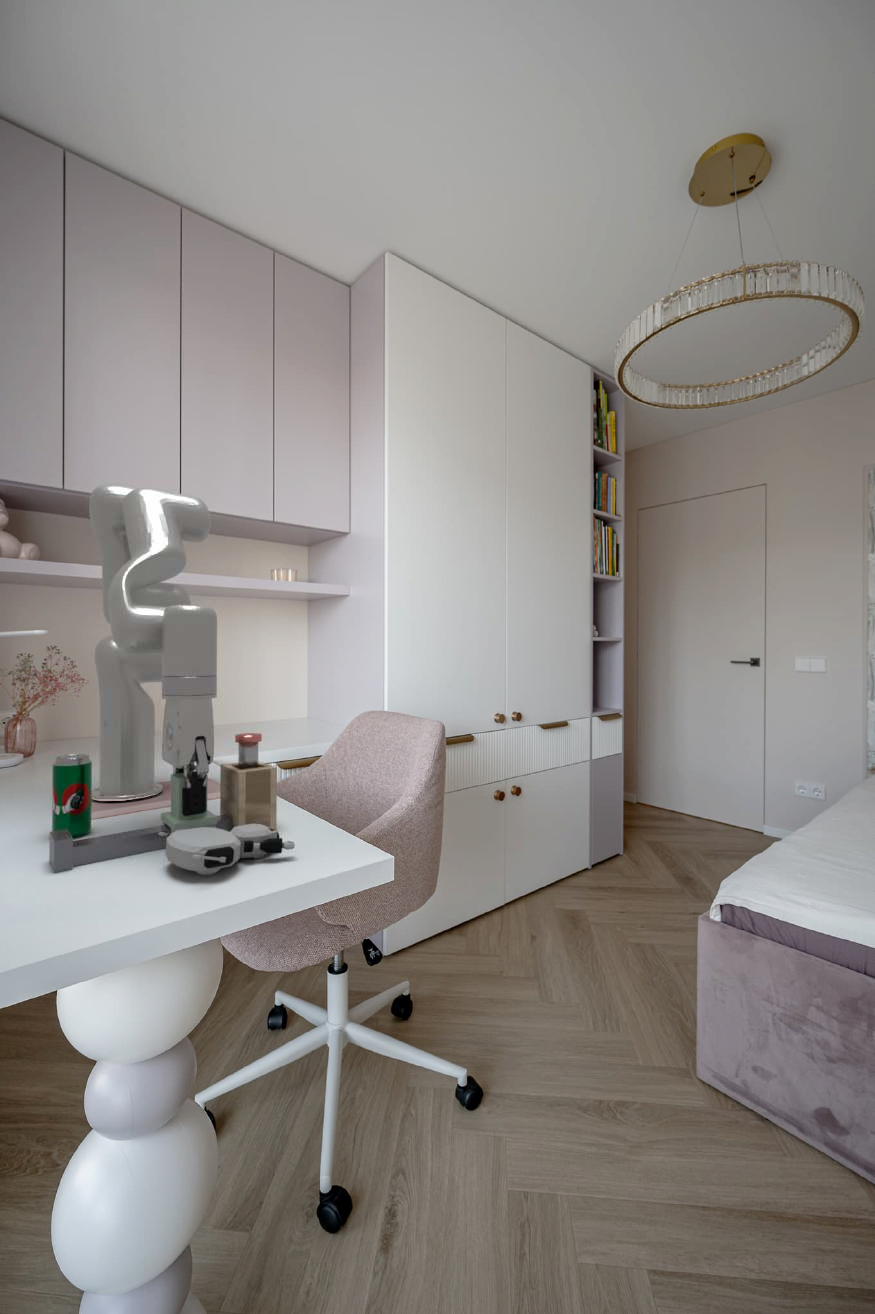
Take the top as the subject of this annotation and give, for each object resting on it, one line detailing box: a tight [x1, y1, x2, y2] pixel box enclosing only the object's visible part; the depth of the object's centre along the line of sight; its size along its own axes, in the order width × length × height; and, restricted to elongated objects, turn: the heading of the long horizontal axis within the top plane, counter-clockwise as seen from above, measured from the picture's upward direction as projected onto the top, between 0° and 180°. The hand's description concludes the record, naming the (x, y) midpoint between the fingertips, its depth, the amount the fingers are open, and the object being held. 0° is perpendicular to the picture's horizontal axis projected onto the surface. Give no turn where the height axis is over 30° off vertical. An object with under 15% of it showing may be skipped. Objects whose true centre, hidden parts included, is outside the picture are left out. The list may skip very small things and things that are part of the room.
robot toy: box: [158, 824, 296, 876], centre depth 76 cm, size 12×4×15 cm
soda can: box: [51, 753, 93, 839], centre depth 86 cm, size 5×5×12 cm
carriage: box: [160, 772, 219, 834], centre depth 84 cm, size 7×6×10 cm
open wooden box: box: [219, 760, 278, 830], centre depth 90 cm, size 8×6×10 cm
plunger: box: [234, 732, 263, 770], centre depth 90 cm, size 4×4×6 cm
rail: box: [48, 814, 233, 874], centre depth 81 cm, size 5×24×4 cm, turn 130°
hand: (189, 809), depth 84 cm, fingers closed on carriage, 4 cm apart
